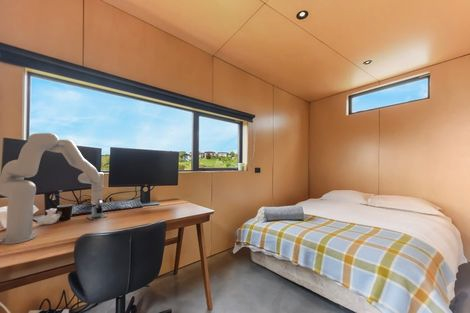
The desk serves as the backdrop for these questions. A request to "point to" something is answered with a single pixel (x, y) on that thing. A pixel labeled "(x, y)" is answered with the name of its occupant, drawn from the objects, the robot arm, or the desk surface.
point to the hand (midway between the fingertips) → (96, 212)
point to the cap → (95, 212)
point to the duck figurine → (49, 217)
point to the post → (96, 217)
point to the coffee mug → (64, 211)
